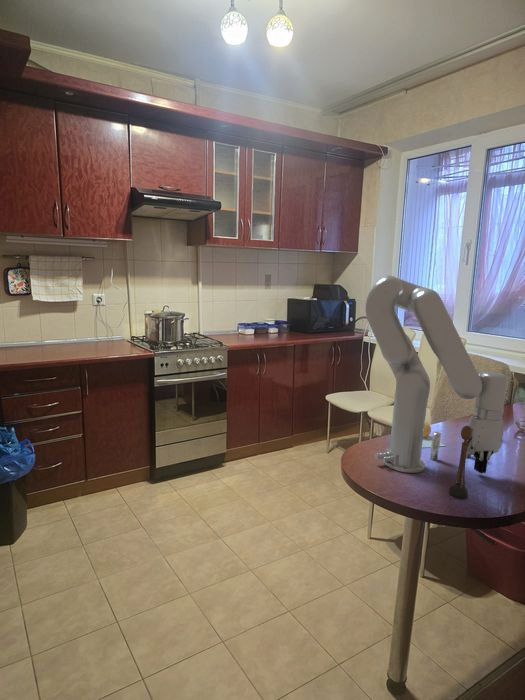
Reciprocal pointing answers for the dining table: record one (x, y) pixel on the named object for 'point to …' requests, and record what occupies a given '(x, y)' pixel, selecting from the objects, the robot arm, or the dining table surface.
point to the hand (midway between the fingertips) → (479, 471)
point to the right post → (468, 455)
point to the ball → (426, 429)
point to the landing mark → (428, 442)
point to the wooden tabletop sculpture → (461, 467)
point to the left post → (435, 446)
